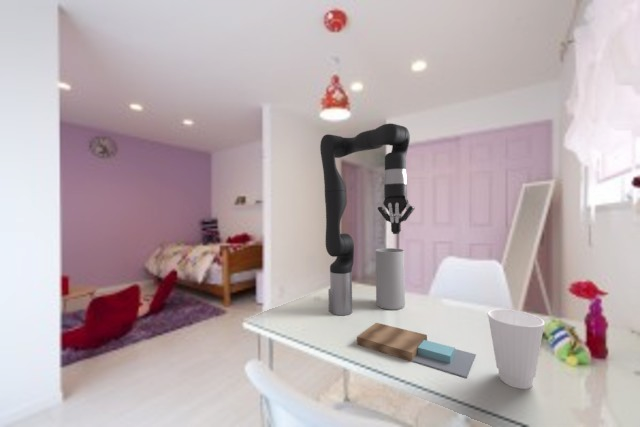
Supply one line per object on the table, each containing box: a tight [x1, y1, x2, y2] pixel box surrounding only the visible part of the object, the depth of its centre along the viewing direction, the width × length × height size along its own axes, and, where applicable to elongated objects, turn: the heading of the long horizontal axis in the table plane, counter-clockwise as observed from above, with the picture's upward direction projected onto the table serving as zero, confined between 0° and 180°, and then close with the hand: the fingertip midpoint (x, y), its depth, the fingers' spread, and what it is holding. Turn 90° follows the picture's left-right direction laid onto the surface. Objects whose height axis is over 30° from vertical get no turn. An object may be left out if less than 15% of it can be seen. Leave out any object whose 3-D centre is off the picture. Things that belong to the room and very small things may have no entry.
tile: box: [418, 339, 456, 363], centre depth 84 cm, size 9×6×2 cm, turn 53°
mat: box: [411, 348, 477, 379], centre depth 83 cm, size 14×14×1 cm
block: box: [356, 322, 428, 362], centre depth 92 cm, size 18×14×2 cm
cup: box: [487, 308, 546, 390], centre depth 72 cm, size 12×12×16 cm
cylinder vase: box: [375, 247, 406, 311], centre depth 128 cm, size 12×12×25 cm
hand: (396, 233), depth 98 cm, fingers closed
